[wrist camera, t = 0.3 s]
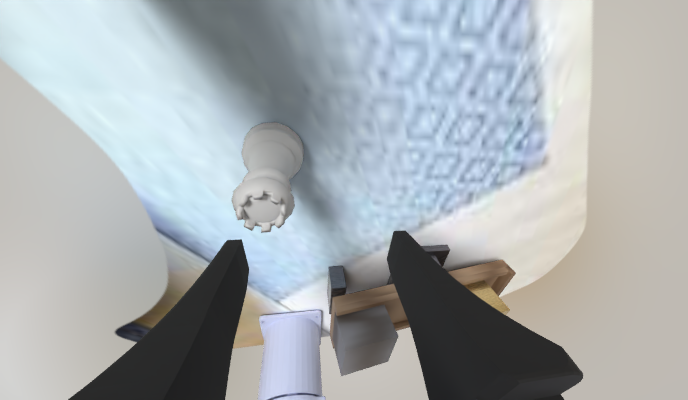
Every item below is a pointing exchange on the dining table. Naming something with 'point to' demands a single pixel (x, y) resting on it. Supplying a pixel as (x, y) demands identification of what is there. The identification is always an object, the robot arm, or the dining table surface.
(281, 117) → the dining table surface
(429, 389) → the robot arm
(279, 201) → the rook chess piece
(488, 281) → the balance beam
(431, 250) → the beam stand
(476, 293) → the block
